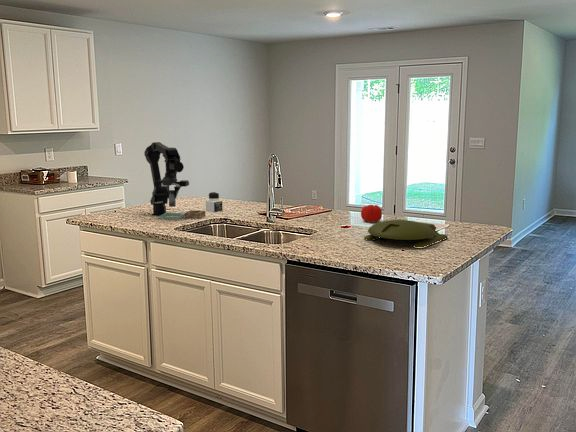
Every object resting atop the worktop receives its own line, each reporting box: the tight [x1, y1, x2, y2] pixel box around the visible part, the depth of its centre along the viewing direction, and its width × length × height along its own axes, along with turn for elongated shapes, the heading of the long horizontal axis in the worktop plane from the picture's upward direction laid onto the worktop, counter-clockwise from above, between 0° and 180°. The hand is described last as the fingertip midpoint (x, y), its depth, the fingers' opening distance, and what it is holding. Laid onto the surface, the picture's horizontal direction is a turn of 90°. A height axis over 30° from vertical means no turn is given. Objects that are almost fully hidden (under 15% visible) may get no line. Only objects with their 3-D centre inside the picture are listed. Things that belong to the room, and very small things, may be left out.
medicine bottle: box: [205, 191, 224, 213], centre depth 342 cm, size 7×7×12 cm
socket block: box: [184, 209, 206, 220], centre depth 322 cm, size 9×9×4 cm
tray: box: [157, 212, 186, 221], centre depth 321 cm, size 12×12×2 cm
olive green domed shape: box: [363, 219, 448, 247], centre depth 268 cm, size 35×31×10 cm
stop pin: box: [168, 189, 176, 208], centre depth 319 cm, size 4×4×9 cm
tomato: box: [360, 204, 383, 223], centre depth 312 cm, size 11×12×9 cm
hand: (172, 198), depth 320 cm, fingers closed on stop pin, 4 cm apart
